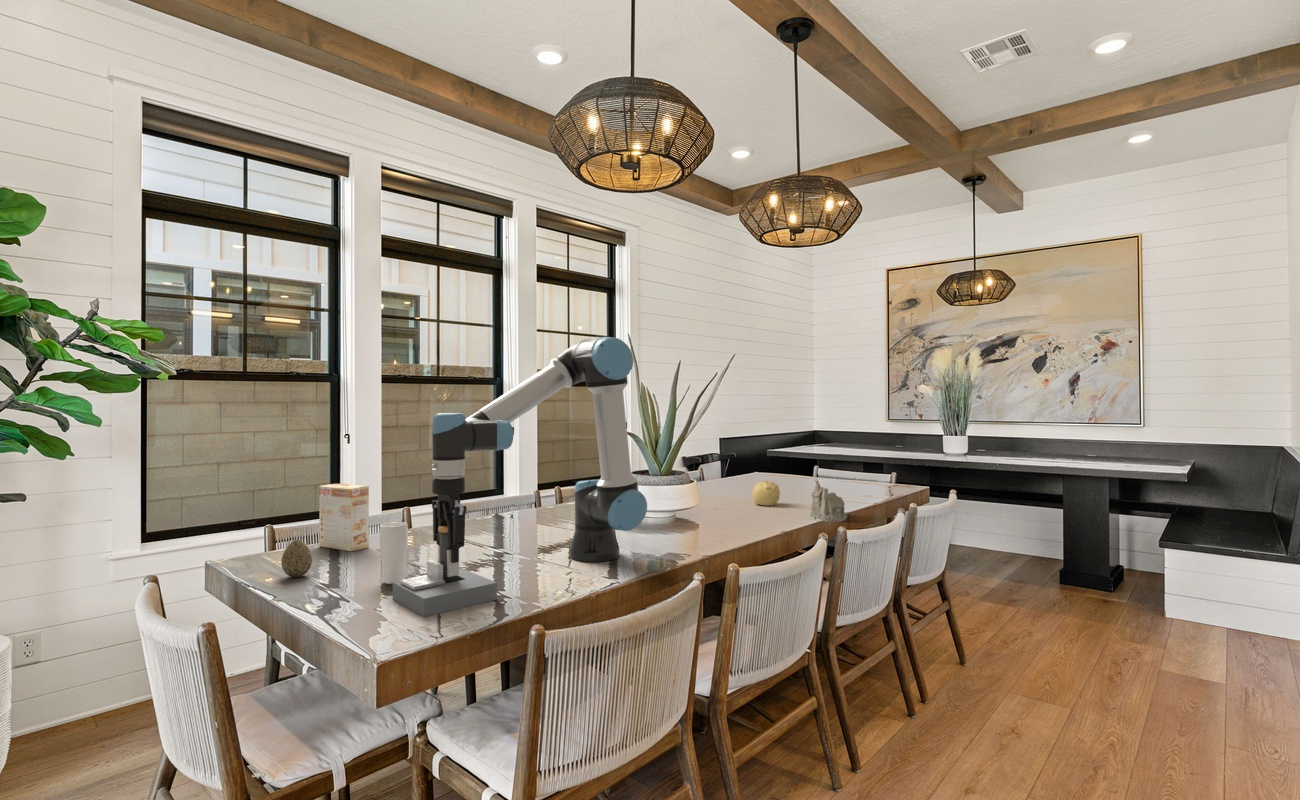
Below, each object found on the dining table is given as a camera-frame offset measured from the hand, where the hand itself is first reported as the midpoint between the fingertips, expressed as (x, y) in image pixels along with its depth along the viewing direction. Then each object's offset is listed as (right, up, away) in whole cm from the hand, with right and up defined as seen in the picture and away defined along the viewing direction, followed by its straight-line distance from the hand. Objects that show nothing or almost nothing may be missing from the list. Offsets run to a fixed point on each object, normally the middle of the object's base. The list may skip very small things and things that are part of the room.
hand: (448, 573), depth 159 cm
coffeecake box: (-48, -5, +50) cm, 70 cm away
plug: (0, -3, 0) cm, 3 cm away
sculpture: (+100, -4, +131) cm, 164 cm away
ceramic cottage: (+120, -5, +101) cm, 157 cm away
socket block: (0, -5, -3) cm, 6 cm away
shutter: (-5, -1, -4) cm, 7 cm away
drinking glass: (-18, -5, +12) cm, 22 cm away
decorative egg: (-45, -5, +16) cm, 48 cm away
